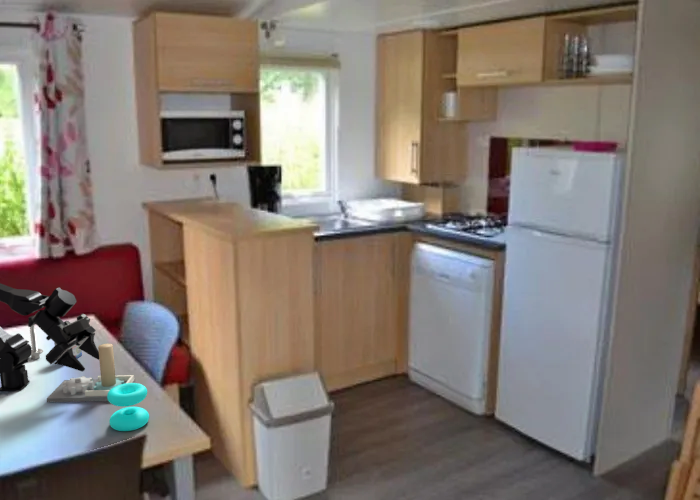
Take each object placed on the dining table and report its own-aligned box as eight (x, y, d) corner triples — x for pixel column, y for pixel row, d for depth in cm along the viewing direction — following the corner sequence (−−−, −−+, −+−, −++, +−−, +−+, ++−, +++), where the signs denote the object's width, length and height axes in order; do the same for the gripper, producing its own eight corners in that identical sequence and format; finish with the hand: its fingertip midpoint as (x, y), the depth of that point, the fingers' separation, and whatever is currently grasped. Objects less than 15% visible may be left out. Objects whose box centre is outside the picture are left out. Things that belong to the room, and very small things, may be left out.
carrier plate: (47, 402, 187) (45, 389, 186) (64, 383, 200) (63, 371, 199) (122, 400, 188) (121, 387, 187) (135, 382, 200) (134, 370, 200)
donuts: (144, 378, 178) (149, 392, 169) (147, 412, 180) (151, 428, 171) (105, 384, 174) (108, 399, 165) (108, 419, 176) (111, 436, 167)
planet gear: (96, 396, 188) (92, 353, 185) (91, 385, 195) (87, 344, 192) (127, 389, 192) (123, 347, 189) (121, 379, 199) (117, 339, 197)
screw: (24, 358, 221) (38, 354, 225) (32, 361, 218) (46, 357, 222) (20, 321, 218) (34, 317, 222) (28, 324, 215) (42, 320, 219)
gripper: (51, 318, 181) (92, 358, 182) (87, 299, 199) (124, 336, 200) (28, 344, 184) (68, 383, 184) (65, 323, 202) (101, 359, 203)
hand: (92, 364), depth 193 cm, fingers open, 9 cm apart
